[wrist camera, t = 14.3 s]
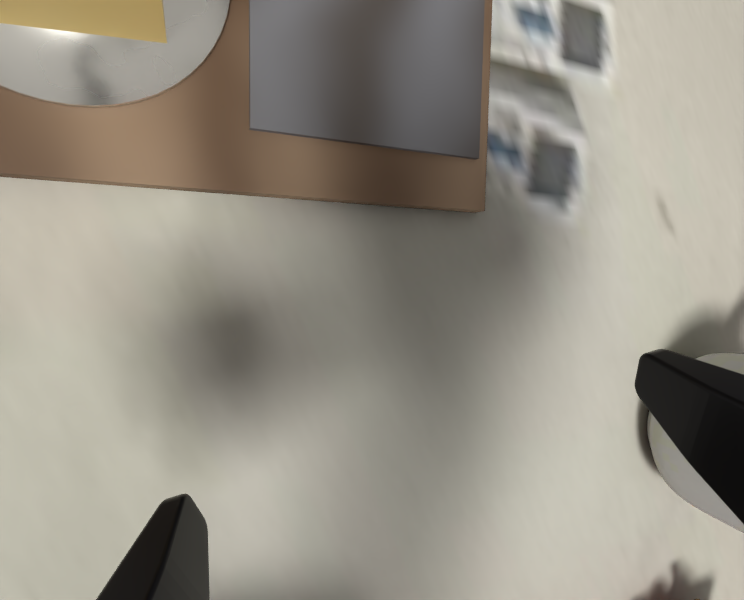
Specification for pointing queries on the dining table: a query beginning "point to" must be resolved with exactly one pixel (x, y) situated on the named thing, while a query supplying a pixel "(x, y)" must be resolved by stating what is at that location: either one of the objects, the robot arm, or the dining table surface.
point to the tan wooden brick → (90, 17)
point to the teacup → (678, 468)
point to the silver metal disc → (109, 58)
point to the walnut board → (293, 111)
